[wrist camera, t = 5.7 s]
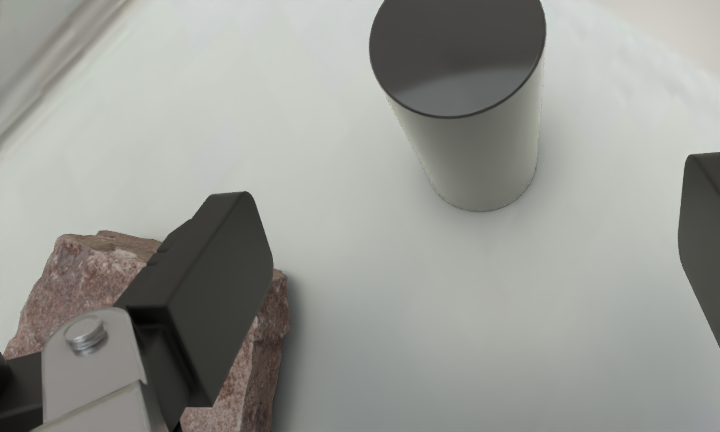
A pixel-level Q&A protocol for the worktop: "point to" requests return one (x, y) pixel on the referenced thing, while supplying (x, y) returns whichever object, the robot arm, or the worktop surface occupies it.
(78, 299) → the stone
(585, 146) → the worktop surface
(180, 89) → the worktop surface
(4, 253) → the worktop surface
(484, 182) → the dark grey cylinder
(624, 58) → the worktop surface
